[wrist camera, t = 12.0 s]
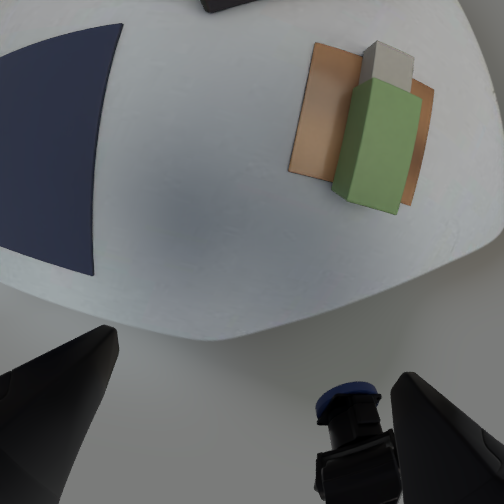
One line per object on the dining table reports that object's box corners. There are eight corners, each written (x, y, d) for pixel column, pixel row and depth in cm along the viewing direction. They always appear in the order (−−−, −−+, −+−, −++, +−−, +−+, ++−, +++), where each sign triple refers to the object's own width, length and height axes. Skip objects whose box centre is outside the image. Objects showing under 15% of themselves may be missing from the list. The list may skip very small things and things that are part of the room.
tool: (374, 202, 17) (397, 215, 14) (330, 190, 17) (346, 201, 14) (401, 67, 13) (427, 55, 10) (359, 49, 13) (378, 32, 10)
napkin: (94, 274, 20) (92, 276, 20) (-31, 232, 19) (-33, 233, 19) (123, 24, 13) (121, 22, 12) (-23, 69, 12) (-24, 69, 12)
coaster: (408, 204, 17) (410, 206, 17) (287, 171, 17) (288, 171, 16) (432, 90, 14) (434, 89, 13) (314, 43, 13) (315, 42, 13)
